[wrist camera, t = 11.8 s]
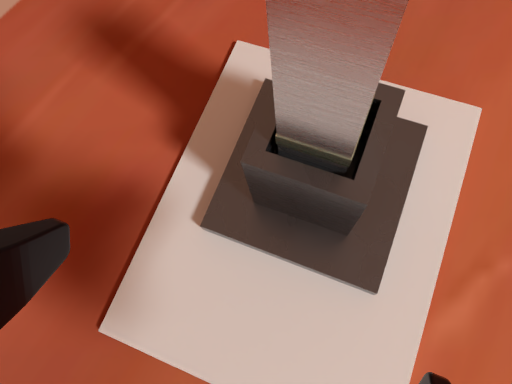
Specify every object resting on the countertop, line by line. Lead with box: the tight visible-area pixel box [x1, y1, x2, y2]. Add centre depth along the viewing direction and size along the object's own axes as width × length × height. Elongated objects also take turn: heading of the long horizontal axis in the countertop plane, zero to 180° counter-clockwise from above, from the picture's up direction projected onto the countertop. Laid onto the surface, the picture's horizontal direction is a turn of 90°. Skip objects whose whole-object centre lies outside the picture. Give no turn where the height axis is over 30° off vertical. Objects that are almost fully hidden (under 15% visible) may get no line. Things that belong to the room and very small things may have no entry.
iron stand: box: [200, 78, 428, 295], centre depth 20 cm, size 10×10×8 cm
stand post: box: [266, 0, 409, 177], centre depth 13 cm, size 3×3×12 cm
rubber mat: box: [98, 40, 482, 384], centre depth 23 cm, size 20×16×1 cm
